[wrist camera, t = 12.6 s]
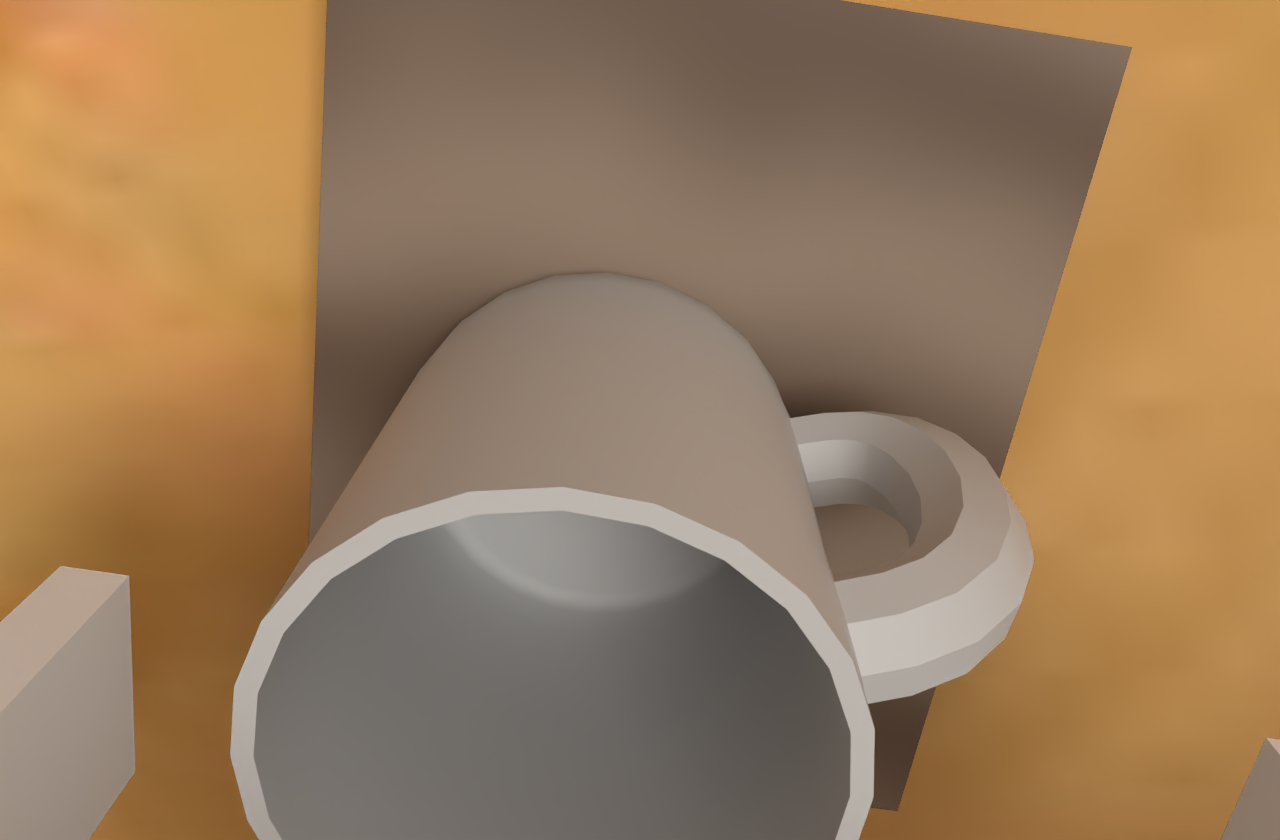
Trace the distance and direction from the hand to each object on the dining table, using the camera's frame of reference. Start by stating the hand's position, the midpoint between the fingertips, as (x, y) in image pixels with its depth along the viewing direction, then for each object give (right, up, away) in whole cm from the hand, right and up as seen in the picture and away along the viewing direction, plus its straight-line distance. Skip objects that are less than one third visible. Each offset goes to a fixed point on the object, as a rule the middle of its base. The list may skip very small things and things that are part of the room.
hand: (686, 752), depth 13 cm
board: (0, +4, +10) cm, 11 cm away
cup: (0, +4, +8) cm, 9 cm away
